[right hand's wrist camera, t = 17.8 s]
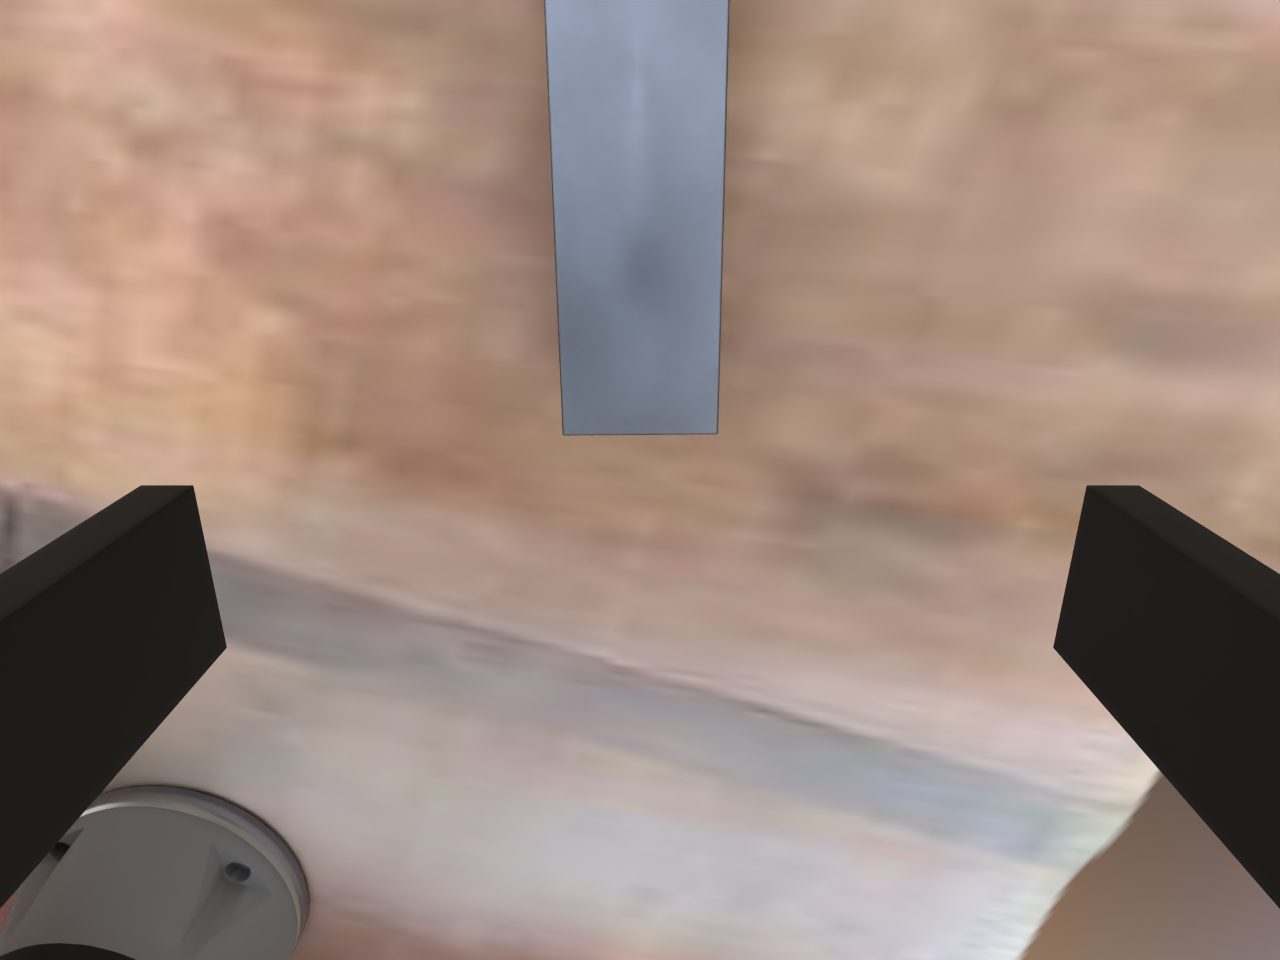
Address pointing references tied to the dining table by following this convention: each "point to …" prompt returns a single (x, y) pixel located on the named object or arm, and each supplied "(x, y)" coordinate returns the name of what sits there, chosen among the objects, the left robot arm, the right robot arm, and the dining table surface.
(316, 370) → the dining table surface
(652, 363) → the bar
